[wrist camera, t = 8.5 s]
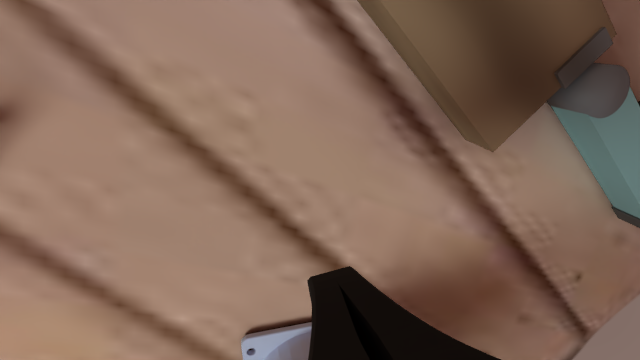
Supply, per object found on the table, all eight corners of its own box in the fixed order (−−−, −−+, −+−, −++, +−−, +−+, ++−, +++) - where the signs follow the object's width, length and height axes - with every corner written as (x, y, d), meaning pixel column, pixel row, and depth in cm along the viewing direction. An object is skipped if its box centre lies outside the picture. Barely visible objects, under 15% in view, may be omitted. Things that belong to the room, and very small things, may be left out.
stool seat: (488, -224, 16) (535, -268, 14) (660, 144, 25) (705, 156, 23) (321, -46, 17) (338, -58, 14) (548, 246, 26) (581, 267, 24)
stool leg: (535, 86, 21) (576, 93, 19) (573, 49, 21) (619, 52, 19) (618, 217, 27) (658, 236, 24) (648, 189, 26) (692, 205, 24)
